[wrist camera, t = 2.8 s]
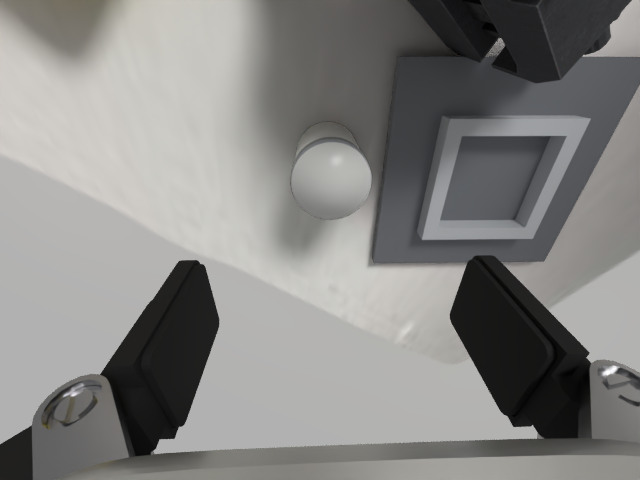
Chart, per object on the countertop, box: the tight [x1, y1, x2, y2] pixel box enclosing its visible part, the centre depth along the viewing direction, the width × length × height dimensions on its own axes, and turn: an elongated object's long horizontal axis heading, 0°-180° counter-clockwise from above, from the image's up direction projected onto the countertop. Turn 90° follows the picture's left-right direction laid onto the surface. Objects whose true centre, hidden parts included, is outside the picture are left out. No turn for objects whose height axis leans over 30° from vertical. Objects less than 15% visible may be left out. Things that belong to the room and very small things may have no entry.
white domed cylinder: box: [291, 122, 372, 220], centre depth 21 cm, size 5×5×7 cm
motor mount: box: [372, 57, 640, 263], centre depth 24 cm, size 18×18×2 cm
